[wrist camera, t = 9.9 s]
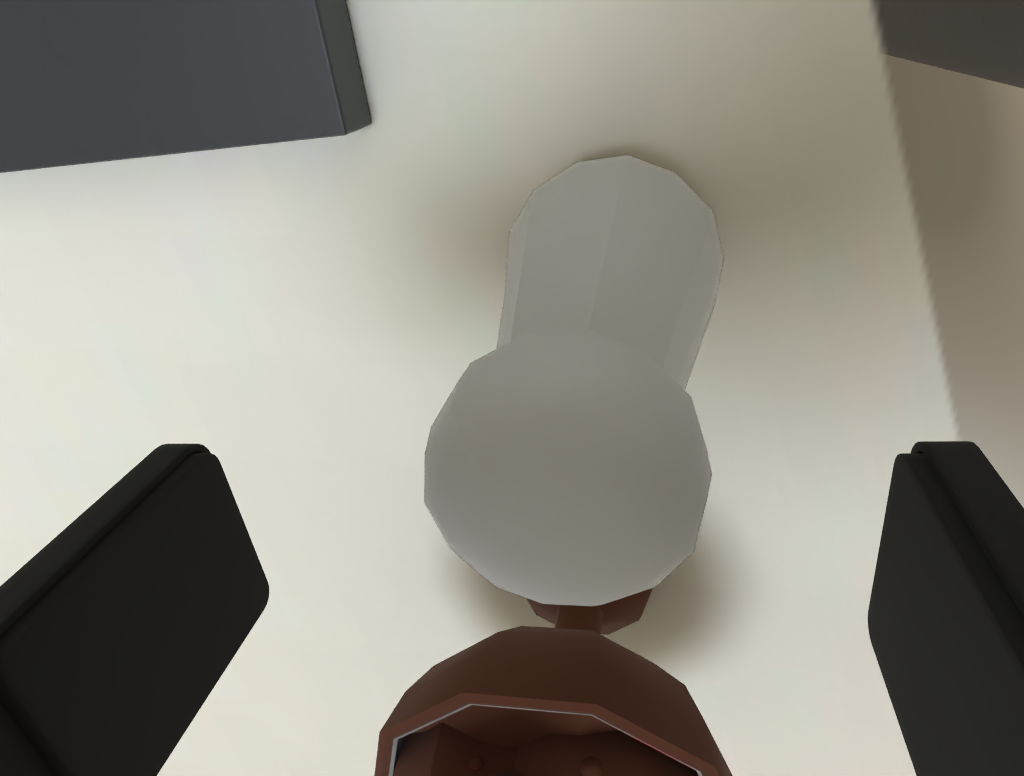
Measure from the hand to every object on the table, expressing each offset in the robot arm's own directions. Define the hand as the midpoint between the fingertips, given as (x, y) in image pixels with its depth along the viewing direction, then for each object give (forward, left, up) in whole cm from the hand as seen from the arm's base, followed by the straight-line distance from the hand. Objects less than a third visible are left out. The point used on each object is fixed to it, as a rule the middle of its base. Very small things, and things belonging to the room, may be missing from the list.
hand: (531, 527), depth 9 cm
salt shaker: (0, 0, -13) cm, 13 cm away
